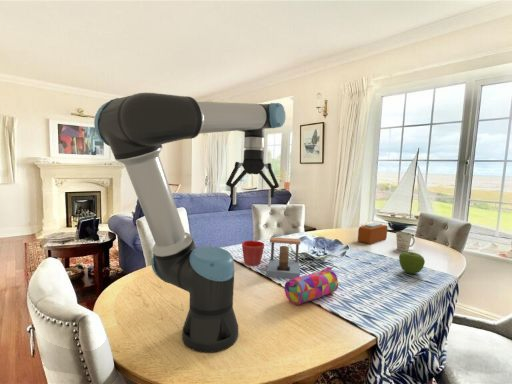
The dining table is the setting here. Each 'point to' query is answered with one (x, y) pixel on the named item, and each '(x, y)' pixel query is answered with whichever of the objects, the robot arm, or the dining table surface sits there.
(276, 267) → the socket board
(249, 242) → the flower pot
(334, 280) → the pencil case
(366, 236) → the orange rectangular block
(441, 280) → the dining table surface
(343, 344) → the dining table surface
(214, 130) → the robot arm
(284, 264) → the dowel
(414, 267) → the apple
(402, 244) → the mug
